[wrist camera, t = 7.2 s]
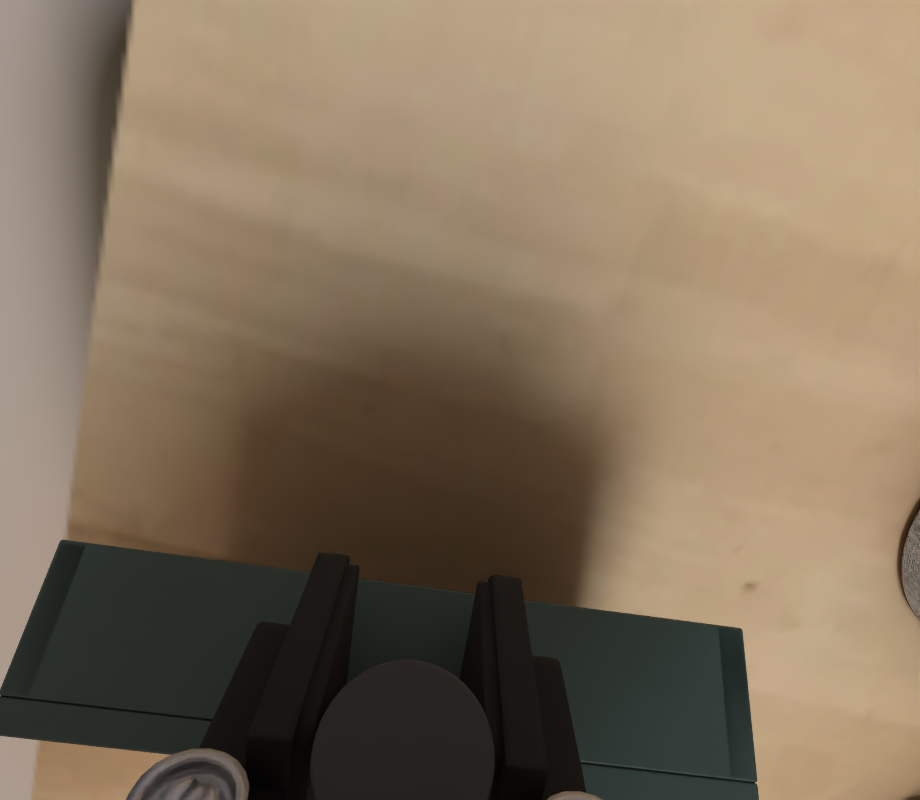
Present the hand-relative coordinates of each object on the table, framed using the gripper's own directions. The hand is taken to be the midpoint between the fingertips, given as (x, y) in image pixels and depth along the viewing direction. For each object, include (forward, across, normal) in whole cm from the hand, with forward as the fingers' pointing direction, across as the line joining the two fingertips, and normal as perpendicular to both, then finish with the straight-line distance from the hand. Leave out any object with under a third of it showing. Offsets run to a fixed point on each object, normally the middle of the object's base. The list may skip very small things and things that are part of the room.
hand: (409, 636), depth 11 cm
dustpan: (+4, 0, +2) cm, 5 cm away
